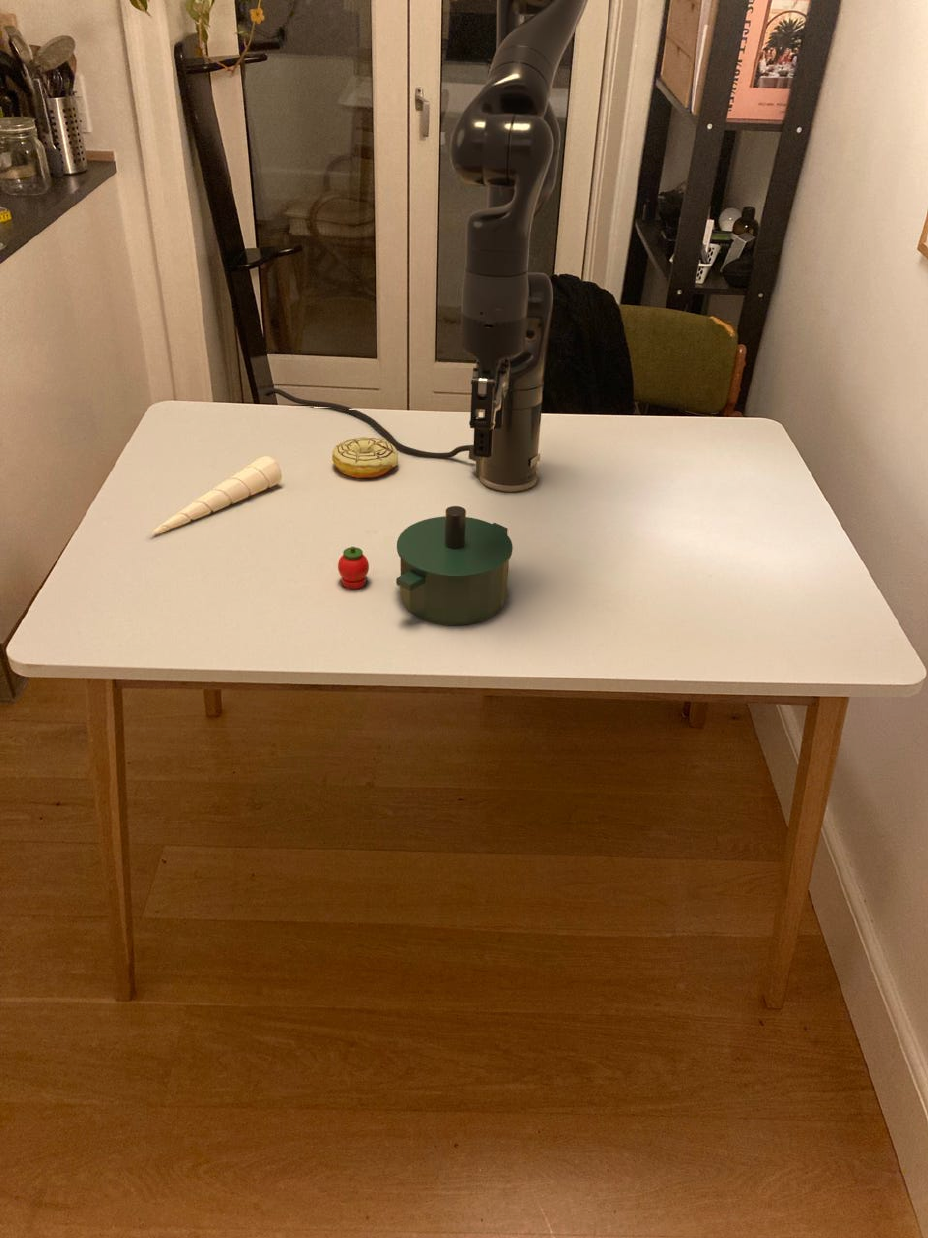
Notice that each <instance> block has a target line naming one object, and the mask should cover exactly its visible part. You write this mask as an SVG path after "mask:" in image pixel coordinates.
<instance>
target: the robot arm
mask: <svg viewBox="0 0 928 1238" xmlns="http://www.w3.org/2000/svg"><path fill="white" fill-rule="evenodd" d="M588 1H589V0H496V51H495V54H494V56H493V58H492V62H491V65H490V68H489V72H488V75H487V79H486V82H485V84H484V86H483V87H482V88H481V89H480V91H479V92H478V93H477V94H476V96H475V97H474V98H473V99H472V100H471V101H470V102H469V104H468V105H467V106H466V107H465V108H464V110H463V111H462V113H461V114H460V116H459V117H458V119H457V121H456V123H455V125H454V128H453V131H452V134H451V137H450V143H449V160H450V165H451V167H452V170H453V172H454V174H455V175H456V176H457V178H458V179H459V180H460V181H461V182H463V183H464V184H467V185H470V186H474V187H476V186H477V187H487V199H486V201H487V202H486V207H485V208H482V209H478V210H474V211H473V212H471V213H470V214H469V216H468V217H467V220H466V225H465V237H464V238H465V243H464V269H463V270H464V272H463V279H462V284H461V300H460V301H461V303H460V306H461V307H460V309H461V310H460V335H459V336H460V337H459V339H460V341H459V343H460V348H461V350H462V351H463V352H464V353H465V354H467V355H469V356H472V357H474V358H476V359H477V360H476V363H475V367H473V368H472V375H471V379H470V385H471V392H470V393H471V396H470V413H469V414H470V416H469V423H468V424H469V428H470V429H473V444H465V445H460V446H457V447H455V448H453V449H452V450H451V451H448V452H431V451H426V450H425V451H424V450H420V449H416V448H412V447H410V446H407V445H404V444H402V443H400V442H399V441H397V440H396V438H395V437H393V435H392V434H391V433H390V432H389V431H388V430H387V429H386V428H384V427H383V426H382V425H381V424H380V423H378V422H377V421H376V420H375V419H374V418H372V417H371V416H369V415H368V414H366V413H363V412H362V411H359V410H357V409H355V410H349V409H353V408H352V407H349V406H346V405H343V404H337V403H333V402H329V401H319V400H311V399H309V400H308V399H303V398H298V397H296V396H293V395H292V394H290V393H288V392H286V391H284V390H282V389H280V388H277V387H276V388H275V387H273V388H269V389H268V390H266V391H265V393H264V394H263V396H266V397H270V396H271V395H274V394H277V395H279V396H281V397H283V398H285V399H287V400H288V401H291V403H292V402H293V403H294V404H299V405H304V406H311V407H320V408H328V409H334V410H337V411H341V412H345V413H348V414H351V415H353V416H356V417H357V418H360V419H362V420H364V421H366V422H367V423H368V424H370V425H372V426H373V427H374V429H376V430H377V431H378V432H379V433H380V434H381V435H382V436H384V438H386V439H387V441H388V442H389V443H390V444H392V445H393V446H394V447H395V448H396V449H398V450H400V451H402V452H405V453H408V454H410V455H413V456H418V457H422V458H428V459H450V458H453V457H455V456H457V455H458V454H460V453H462V452H468V460H470V461H473V462H475V472H474V473H475V477H476V478H479V481H480V482H481V483H482V484H483V485H484V486H485V487H487V488H489V489H492V490H495V491H498V492H507V493H508V492H509V493H513V492H514V493H515V492H516V493H517V492H522V491H526V490H528V489H531V488H533V487H534V486H535V485H536V483H537V481H538V480H537V479H538V463H539V462H540V460H541V453H539V449H540V448H539V447H540V435H541V424H542V423H541V422H542V411H543V410H542V409H543V397H544V385H545V372H546V365H547V355H548V354H547V353H548V345H549V337H550V329H551V325H552V324H551V323H552V316H553V315H552V314H553V305H554V291H553V284H552V282H551V279H550V277H549V276H548V275H547V273H544V272H533V271H530V272H529V270H528V269H529V254H530V243H531V242H530V241H531V231H532V226H533V221H534V219H535V218H536V217H537V215H538V214H539V213H540V211H541V210H542V208H544V206H545V204H546V203H547V202H548V200H549V198H550V196H551V195H552V193H553V190H554V188H555V185H556V181H557V175H558V167H559V156H560V146H561V130H560V124H559V122H558V119H557V116H556V114H555V112H554V109H553V107H552V105H551V102H550V97H551V93H552V90H553V85H554V82H555V78H556V74H557V70H558V67H559V65H560V62H561V60H562V58H563V55H564V53H565V51H566V50H567V48H568V46H569V44H570V42H571V40H572V38H573V36H574V34H575V32H576V30H577V27H578V26H579V23H580V22H581V19H582V18H583V14H584V12H585V9H586V7H587V4H588ZM525 16H527V17H529V18H527V19H526V20H525ZM480 410H482V416H480Z"/></svg>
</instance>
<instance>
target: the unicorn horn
mask: <svg viewBox="0 0 928 1238" xmlns="http://www.w3.org/2000/svg"><path fill="white" fill-rule="evenodd" d="M282 478H283V477H282V470H281V468H280V465H279V464H278V463H277V461H276V460H275V459H274V458H273V457H270V456H266V455H264V456H261V457H259V458H258V459H256V460H255V461H253V462H252V463H250V464H249V465H247V466H246V467H245V468H243V469H241V470H239V471H238V472H237V473H235V474H234V475H232V476H231V477H229V478H228V479H226V480H224V481H223V482H221V483H220V484H218V485H216V486H215V487H213V488H212V489H211V490H210V491H208V492H206V493H204V494H203V495H202V496H200V497H199V498H197V499H196V500H194V501H193V502H192V503H190V504H188V505H187V506H186V507H184V508H182V509H181V510H180V511H178V512H176V513H175V515H173V516H171V517H169V518H168V519H167V520H166V521H165V522H163V523H162V524H160V525H158V527H157V528H155V529H154V530H153V531H152V532H151V534H150V535H151V536H153V535H154V536H155V535H160V534H162V533H164V532H165V533H166V532H167V531H170V530H171V529H176V528H178V527H181V526H182V525H186V524H188V523H190V522H191V520H193V521H196V520H198V519H200V518H203V517H205V516H207V515H210V514H211V513H212V512H213V513H215V512H216V511H219V510H221V509H223V508H226V507H228V506H230V505H233V504H236V503H238V502H240V501H243V500H244V499H247V498H249V497H250V496H254V495H256V494H258V493H261V492H263V491H265V490H267V489H270V488H272V487H275V486H276V485H279V484H280V483H281V481H282Z"/></svg>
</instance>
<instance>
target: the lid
mask: <svg viewBox="0 0 928 1238" xmlns="http://www.w3.org/2000/svg"><path fill="white" fill-rule="evenodd" d="M396 540H397V541H396V552H397V555H398V557H399V558H401V559H402V561H403V562H404V563H405V564H407V565H408V566H409V567H411V568H413V569H415V570H417V571H419V572H421V573H424V574H427V575H431V576H435V577H441V578H450V579H463V578H473V577H478V576H483V575H486V574H489V573H492V572H494V571H496V570H498V569H500V568H501V567H503V566H504V565H505V564H506V563H507V562H508V561H509V562H510V559H511V558H512V555H513V549H514V546H513V542H512V539H511V538H510V536H509V535H508V533H507V534H506V533H505V532H504V531H503V530H502V529H500V528H499V527H497V526H495V525H493V523H491V522H489V521H486V520H482V519H479V518H474V517H470V516H469V517H468V516H467V510H466V508H464V507H462V506H459V505H451V506H448V507H447V508H445V516H435V517H430V518H426V519H423V520H420V521H417V522H415V523H413V524H410V525H409V526H408V527H407V528H405V529H404V530H403V531H402V532H400V534H399V536H398V538H397V539H396Z"/></svg>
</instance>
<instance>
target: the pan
mask: <svg viewBox="0 0 928 1238" xmlns="http://www.w3.org/2000/svg"><path fill="white" fill-rule="evenodd" d="M492 524H493V525H495V526H497V527H499V528H500V529H502V530H503V531H504V532H505V533H506V534H507V535H508V534H509V533H508V531H509V528H508V527H506V526H503V525H501V524H498V523H496V522H493V523H492ZM399 558H400V557H399ZM399 561H400V562H399V563H400V565H399V566H400V575H399V576H397V577H396V585H397V586H398V587H400V598H401V602H402V604H403V606H404V607H405V608H406V609H407V611H408V612H409V613H411V614H412V615H414V616H416V617H417V618H419V619H421V620H423V621H426V622H430V623H434V624H438V625H442V626H443V625H444V626H466V625H472V624H473V625H474V624H478V623H481V622H483V621H486V620H488V619H490V618H492V617H494V616H495V615H496V614H498V613H499V612H500V611H501V610H502V609H503V607H504V606H505V602H506V599H507V597H508V583H509V582H508V581H509V568H510V567H509V565H510V560H509V561H508V562H507V563H506V564H505V565H504V566H503V567H501V568H500V569H498V570H496V571H494V572H492V573H489V574H486V575H483V576H478V577H473V578H463V579H450V578H441V577H435V576H431V575H427V574H424V573H421V572H419V571H417V570H415V569H413V568H411V567H409V566H408V565H407V564H405V563H404V562H403V561H402V559H401V558H400V559H399Z"/></svg>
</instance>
